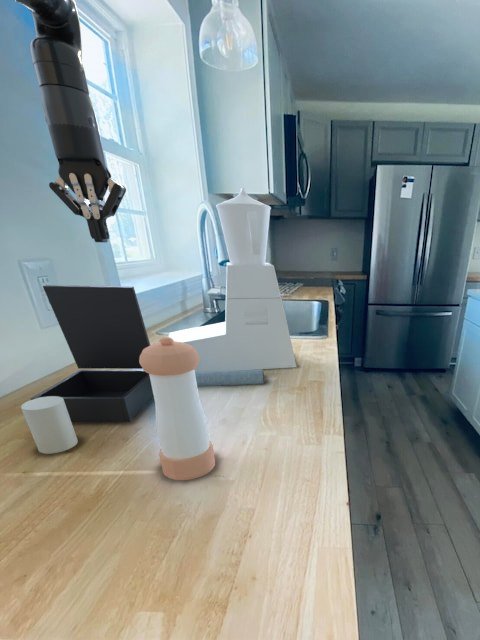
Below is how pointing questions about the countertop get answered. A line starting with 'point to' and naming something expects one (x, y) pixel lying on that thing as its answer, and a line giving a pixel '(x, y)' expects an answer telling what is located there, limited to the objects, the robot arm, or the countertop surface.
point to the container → (50, 424)
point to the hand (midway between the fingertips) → (101, 242)
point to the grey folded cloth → (230, 377)
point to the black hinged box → (103, 394)
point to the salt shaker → (178, 409)
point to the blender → (245, 299)
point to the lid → (100, 324)
